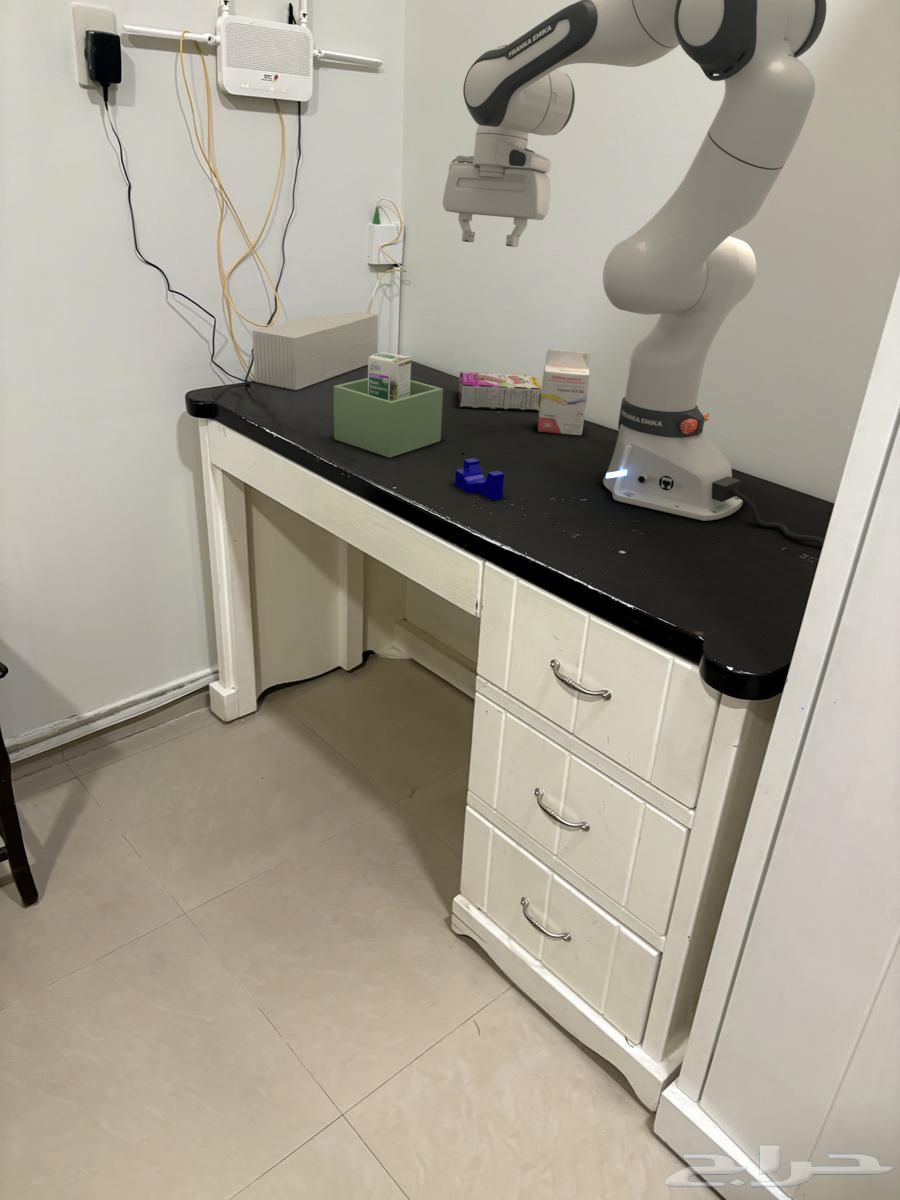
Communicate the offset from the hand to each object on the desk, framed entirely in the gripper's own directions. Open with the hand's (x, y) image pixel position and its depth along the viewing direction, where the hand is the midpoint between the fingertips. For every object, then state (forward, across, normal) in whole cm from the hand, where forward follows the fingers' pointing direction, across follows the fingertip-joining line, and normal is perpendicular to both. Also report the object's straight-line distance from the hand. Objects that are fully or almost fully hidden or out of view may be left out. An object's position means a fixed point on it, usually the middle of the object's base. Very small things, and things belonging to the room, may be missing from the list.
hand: (489, 244), depth 162 cm
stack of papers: (+25, -45, +12) cm, 52 cm away
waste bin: (+35, -8, -14) cm, 38 cm away
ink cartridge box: (+32, +11, +15) cm, 37 cm away
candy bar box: (+28, -15, +16) cm, 35 cm away
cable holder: (+37, +19, -22) cm, 47 cm away
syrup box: (+34, -8, -14) cm, 38 cm away
